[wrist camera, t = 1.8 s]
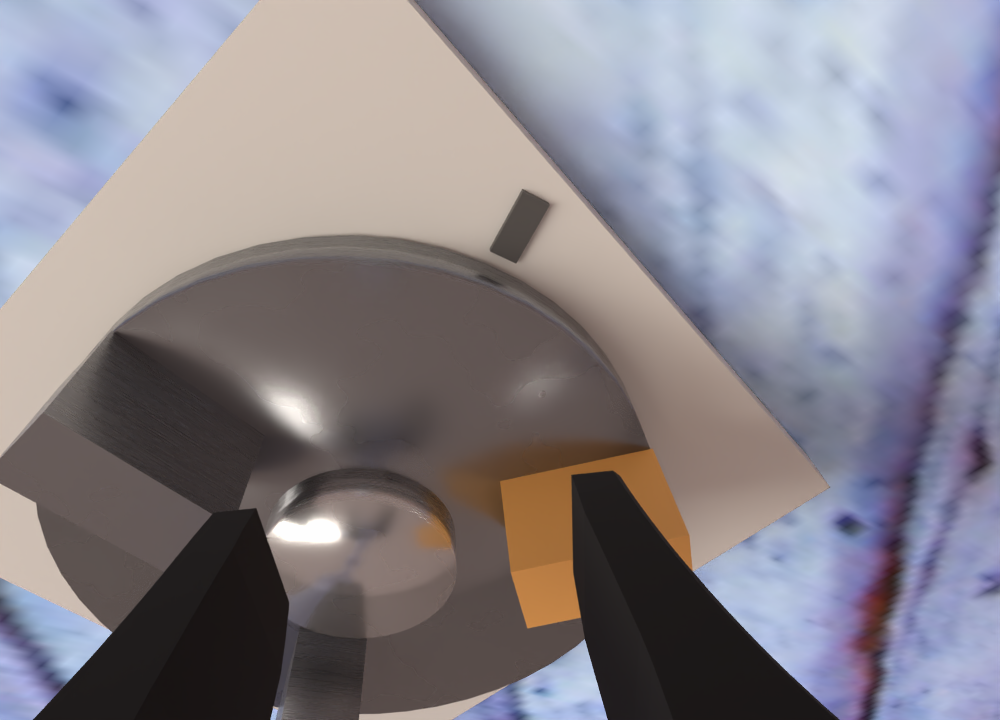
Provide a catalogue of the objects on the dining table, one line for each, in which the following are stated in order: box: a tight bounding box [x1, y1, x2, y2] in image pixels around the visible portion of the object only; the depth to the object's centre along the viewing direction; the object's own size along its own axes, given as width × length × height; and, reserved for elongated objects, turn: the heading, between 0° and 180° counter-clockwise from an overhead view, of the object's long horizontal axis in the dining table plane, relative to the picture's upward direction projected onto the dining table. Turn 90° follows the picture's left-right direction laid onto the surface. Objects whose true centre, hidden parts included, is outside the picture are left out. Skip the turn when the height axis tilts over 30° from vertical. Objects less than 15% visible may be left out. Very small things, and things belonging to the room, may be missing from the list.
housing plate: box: [0, 0, 830, 720], centre depth 20 cm, size 20×20×2 cm
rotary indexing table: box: [0, 235, 693, 720], centre depth 18 cm, size 16×16×5 cm
